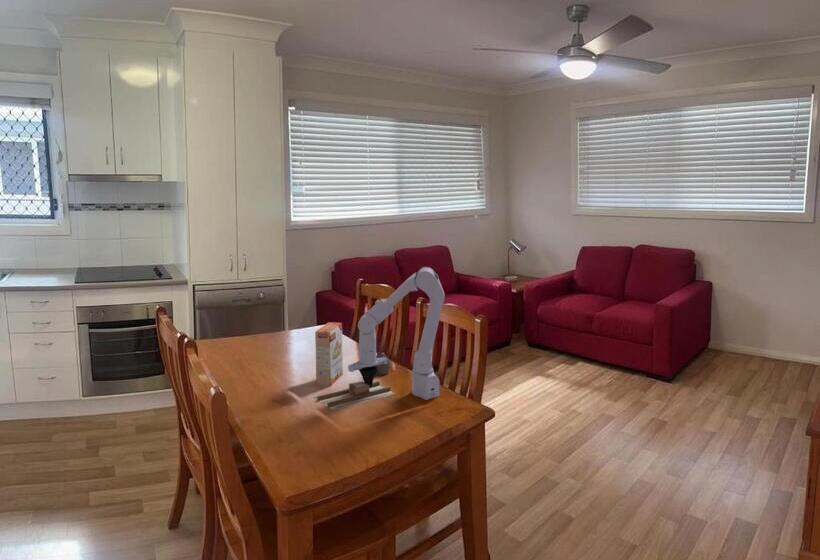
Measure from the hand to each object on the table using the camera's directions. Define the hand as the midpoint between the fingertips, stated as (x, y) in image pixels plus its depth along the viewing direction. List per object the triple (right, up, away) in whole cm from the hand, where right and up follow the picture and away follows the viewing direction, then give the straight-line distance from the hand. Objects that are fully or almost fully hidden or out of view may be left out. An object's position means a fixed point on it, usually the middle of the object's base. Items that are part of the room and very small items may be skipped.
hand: (368, 387), depth 198 cm
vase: (+3, +1, +20) cm, 20 cm away
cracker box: (-15, -1, +13) cm, 20 cm away
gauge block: (-3, -2, -2) cm, 4 cm away
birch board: (-4, -3, -3) cm, 6 cm away
